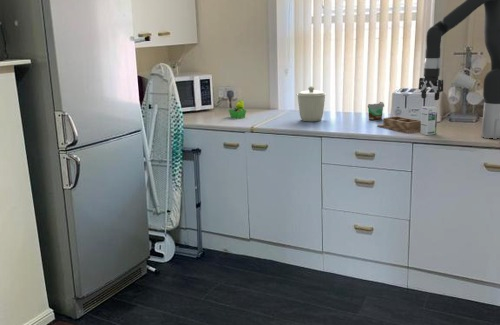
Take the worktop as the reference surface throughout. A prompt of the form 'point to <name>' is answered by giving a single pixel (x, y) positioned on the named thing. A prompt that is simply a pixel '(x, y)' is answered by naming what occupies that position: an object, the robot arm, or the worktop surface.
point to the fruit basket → (238, 110)
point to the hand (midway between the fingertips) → (429, 99)
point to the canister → (311, 104)
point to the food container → (375, 111)
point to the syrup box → (428, 120)
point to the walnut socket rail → (401, 124)
